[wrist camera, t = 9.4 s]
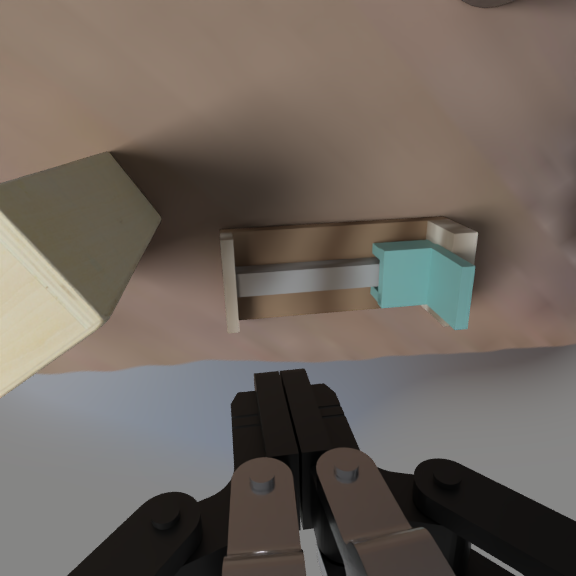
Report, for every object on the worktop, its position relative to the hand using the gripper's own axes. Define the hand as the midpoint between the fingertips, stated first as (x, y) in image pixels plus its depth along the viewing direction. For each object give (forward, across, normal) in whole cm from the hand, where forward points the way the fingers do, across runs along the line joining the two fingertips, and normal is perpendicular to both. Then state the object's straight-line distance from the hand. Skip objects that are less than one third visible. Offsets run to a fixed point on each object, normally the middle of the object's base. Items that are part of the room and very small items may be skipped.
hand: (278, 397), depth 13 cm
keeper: (+25, -14, +5) cm, 30 cm away
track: (+27, -8, +5) cm, 29 cm away
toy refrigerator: (+27, +11, -1) cm, 29 cm away
